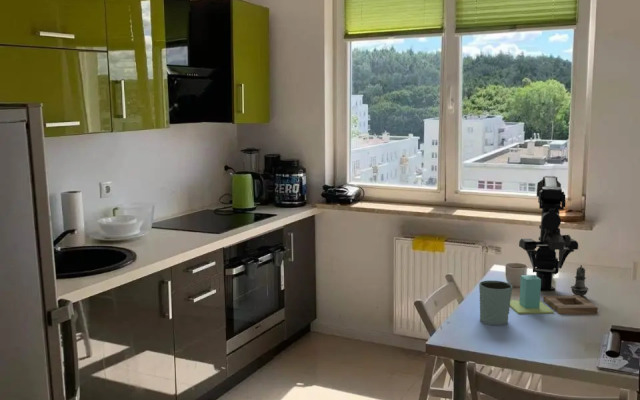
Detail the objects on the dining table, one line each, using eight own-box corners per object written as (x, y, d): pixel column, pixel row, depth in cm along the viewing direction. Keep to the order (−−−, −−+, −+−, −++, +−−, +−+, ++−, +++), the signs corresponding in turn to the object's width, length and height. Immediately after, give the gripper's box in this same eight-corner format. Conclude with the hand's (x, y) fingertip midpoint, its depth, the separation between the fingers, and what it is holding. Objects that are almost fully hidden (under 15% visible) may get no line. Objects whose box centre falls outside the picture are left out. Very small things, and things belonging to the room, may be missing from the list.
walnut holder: (543, 301, 222) (543, 295, 222) (579, 300, 223) (579, 295, 222) (558, 313, 209) (559, 307, 209) (597, 313, 210) (597, 307, 209)
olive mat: (505, 302, 221) (505, 300, 221) (539, 301, 221) (539, 300, 221) (518, 313, 209) (518, 312, 209) (553, 313, 209) (553, 311, 209)
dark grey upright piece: (584, 295, 229) (587, 263, 227) (590, 300, 223) (592, 267, 221) (568, 294, 229) (570, 262, 227) (572, 299, 223) (575, 266, 222)
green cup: (474, 323, 200) (475, 286, 198) (481, 313, 209) (483, 278, 207) (506, 328, 196) (508, 290, 194) (513, 318, 204) (515, 282, 203)
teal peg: (519, 303, 217) (520, 275, 216) (533, 303, 218) (535, 275, 216) (524, 308, 212) (526, 279, 211) (539, 308, 213) (541, 279, 211)
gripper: (532, 229, 209) (529, 275, 211) (587, 228, 210) (584, 274, 212) (519, 222, 220) (517, 266, 222) (572, 222, 221) (569, 265, 223)
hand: (547, 268), depth 219 cm, fingers open, 9 cm apart
